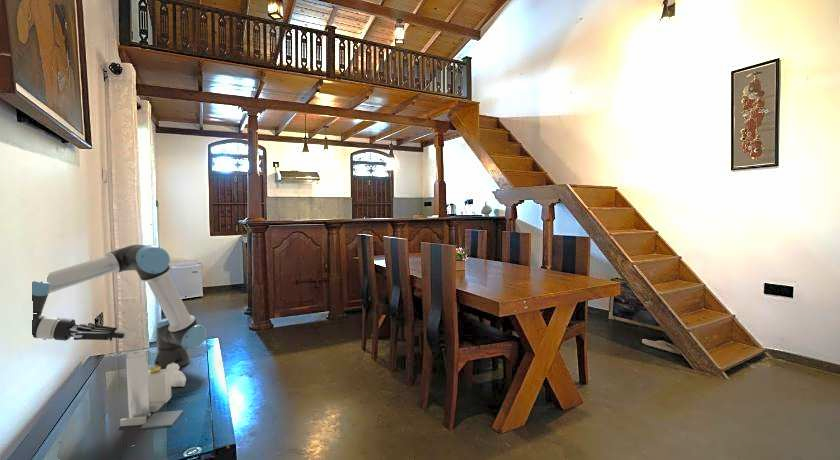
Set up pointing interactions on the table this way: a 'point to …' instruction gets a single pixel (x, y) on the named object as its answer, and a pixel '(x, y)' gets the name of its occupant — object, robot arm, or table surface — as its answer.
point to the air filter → (138, 384)
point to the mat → (162, 419)
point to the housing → (154, 395)
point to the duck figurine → (176, 375)
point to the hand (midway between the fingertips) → (134, 336)
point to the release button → (155, 369)
